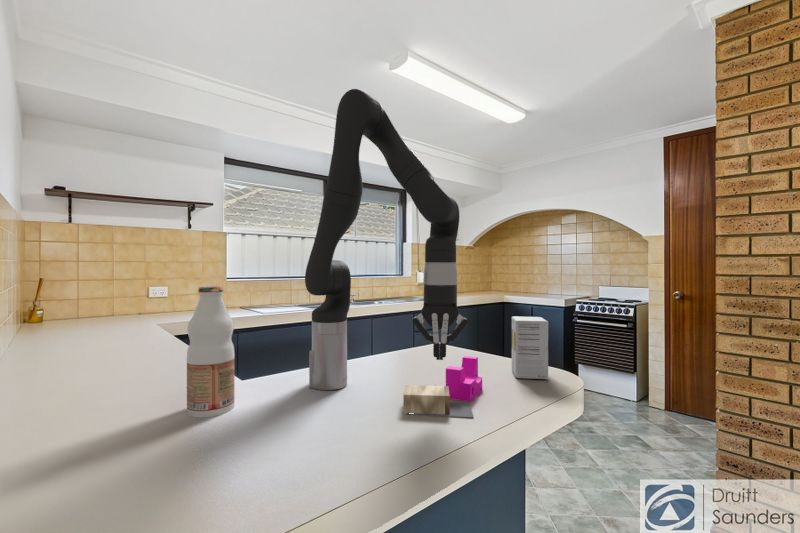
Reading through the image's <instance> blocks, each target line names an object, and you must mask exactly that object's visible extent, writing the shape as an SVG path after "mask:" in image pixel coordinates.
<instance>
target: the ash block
mask: <svg viewBox="0 0 800 533" xmlns="http://www.w3.org/2000/svg"><path fill="white" fill-rule="evenodd" d="M402 397H403V400H402V401H403V402H402V403H403V404H402V405H403V414H405V413H419V414H450V402H451V400H450V399H451V398H450V396H449V388H448V386H446V385H424V384H423V385H421V384H420V385H419V384H417V385H416V384H412V385H411V384H405V387H404V391H403V396H402Z"/></svg>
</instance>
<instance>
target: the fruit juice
mask: <svg viewBox="0 0 800 533" xmlns="http://www.w3.org/2000/svg"><path fill="white" fill-rule="evenodd" d="M198 295H199V300H198V302H197V305H196V308H195V310H194V313H193V315H192V317H191V319H190V320H189V322H188V325H187V334H188V338H189V344H188V345H189V346H188V348H187V350H186V414H187V415H188V416H190V417H193V418H212V417H217V416H220V415H224V414H226V413H228V412H231V411H232V410H233V409H235V398H236V397H235V356H236V355H235V344H234V343H233V341H232V337H233V334H234V329H235V328H234V327H235V325H234V320H233V318H232V317H231V316H230V314H229V312H228V309H227V307H226V305H225V302H224V300H223V295H224V287H223V286H200V287H198Z"/></svg>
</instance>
